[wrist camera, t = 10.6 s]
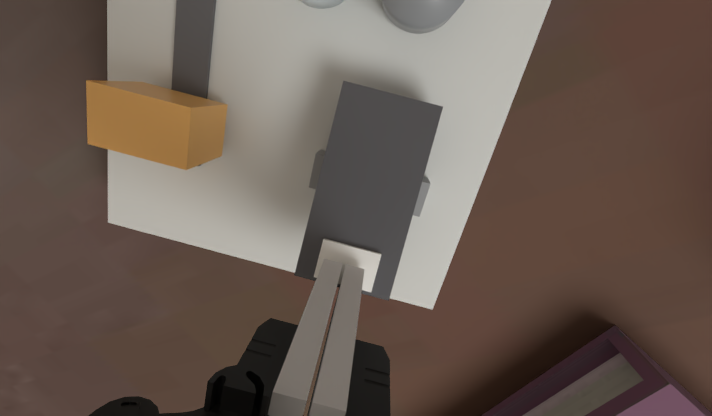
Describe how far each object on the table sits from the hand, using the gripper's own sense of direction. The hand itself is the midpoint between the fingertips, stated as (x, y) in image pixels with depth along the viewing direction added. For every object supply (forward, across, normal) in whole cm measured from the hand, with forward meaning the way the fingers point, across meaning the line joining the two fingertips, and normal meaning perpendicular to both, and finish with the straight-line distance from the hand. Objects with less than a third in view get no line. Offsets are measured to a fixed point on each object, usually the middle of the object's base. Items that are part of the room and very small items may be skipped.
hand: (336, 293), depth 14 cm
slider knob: (+4, -9, +4) cm, 10 cm away
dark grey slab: (+2, 0, +4) cm, 4 cm away
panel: (+7, -4, +7) cm, 11 cm away
